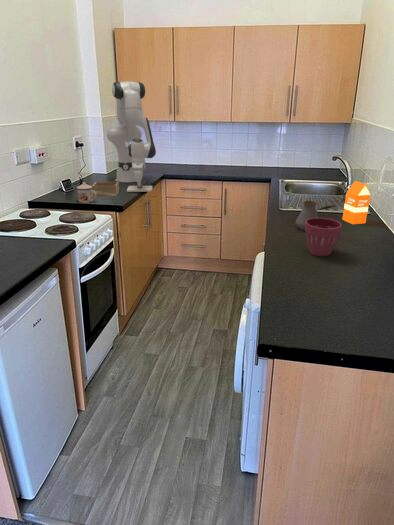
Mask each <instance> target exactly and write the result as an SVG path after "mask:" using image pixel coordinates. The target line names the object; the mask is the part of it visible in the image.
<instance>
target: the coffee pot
mask: <svg viewBox="0 0 394 525" xmlns="http://www.w3.org/2000/svg"><path fill="white" fill-rule="evenodd" d="M302 204H303V207H302V210H301V211H300V213H299V214H298V217H297V218H296V220H295V225H296V226H297V228H298V229H299V230H302V231H305V222H306V220H308V219H310V218H319V216H318V213H317V211H321V210H327V209H332V211H335V208H337V206H335V205H334V204H333V205H328V206H327V205H326V206H323V207H318V208H316V206H317V204H318V202H316V201H312V200H305V201H303V202H302Z"/></svg>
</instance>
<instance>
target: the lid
mask: <svg viewBox="0 0 394 525" xmlns="http://www.w3.org/2000/svg"><path fill="white" fill-rule="evenodd" d="M136 184H137V185H128V186H127V189H126V193H142V192H148V193H149V192H152V191H153V185H143V182H142V181H141V187H138V183H137V182H136Z"/></svg>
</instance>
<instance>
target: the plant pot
mask: <svg viewBox="0 0 394 525" xmlns="http://www.w3.org/2000/svg"><path fill="white" fill-rule="evenodd" d="M342 227H343V224H342V222H340V221H338V220H336V219H332V218H327V217H318V218H310V219H308V220H306V222H305V230H304V232H305V233H306V244H307V251H308V253H309V254H311V255H313V256H317V257H327V256H330V255H331V254H332V251H333V250H334V247H335V244H336V241H337V239H338V236H340V235H341V234H342Z"/></svg>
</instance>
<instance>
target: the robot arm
mask: <svg viewBox="0 0 394 525" xmlns="http://www.w3.org/2000/svg"><path fill="white" fill-rule="evenodd" d="M111 86H112V87H111V93H112V97H114V98H115V99H117V100H116V116H117V119H118V120H119V121H120V122H121V123H123V124H124V126H122V125H121V126H112V127H110V128H108V129H107V131H106V139H107V140H108V141H109V142H110V143H112V144H113V145H114V147H115V148H116V151H117V157H118V158H117V159H118V162H117V166H118V168H117V169H116V178H115V179H114V182H119V183H134V182H136V184H137V183H138V187H141V182H142V181H143V177H144V172H143V171H144V169H146V159H153V158H154V157H155V156H156V154H157V149H156V146H155V142H154V138H153V134H152V130H151V129H152V128H151V126H150V122H149V120H148V117H146V116H145V115H144V112H143V106H142V100H143V98H145V96H146V86H145V84H144V83H143V82H140V81H137V82H136V81H130V80H129V81H114V82H113V83H112V85H111ZM141 128H142V129H143V130H144V134H145V139H146V142H144V140H143V139H142V134H143V132H142V130H141ZM126 143H130V144H129V145H128V146H127V145H126Z"/></svg>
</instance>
